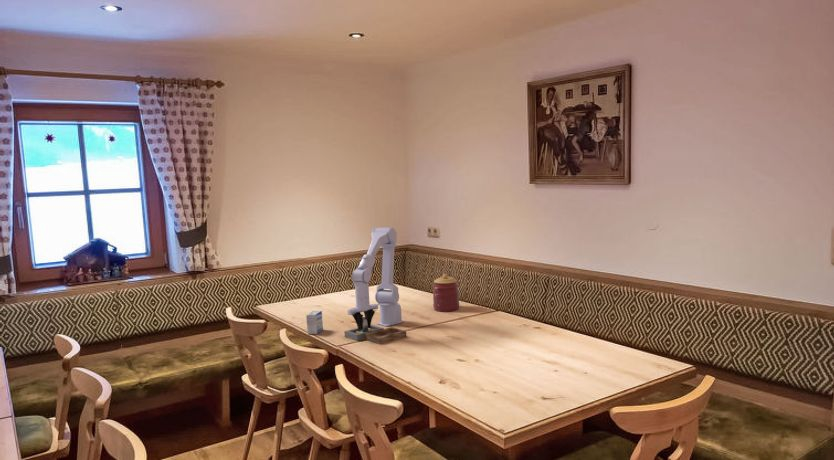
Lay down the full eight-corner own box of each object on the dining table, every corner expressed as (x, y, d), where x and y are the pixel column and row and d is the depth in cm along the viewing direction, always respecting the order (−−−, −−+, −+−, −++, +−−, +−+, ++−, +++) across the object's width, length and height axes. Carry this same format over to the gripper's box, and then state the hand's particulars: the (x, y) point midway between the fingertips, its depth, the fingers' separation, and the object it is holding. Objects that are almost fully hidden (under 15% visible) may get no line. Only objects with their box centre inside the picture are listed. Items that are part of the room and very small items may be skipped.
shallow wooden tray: (392, 332, 259) (391, 326, 259) (406, 336, 251) (406, 331, 251) (365, 339, 250) (364, 333, 250) (379, 344, 242) (378, 338, 242)
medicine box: (316, 334, 261) (315, 314, 261) (307, 334, 262) (306, 314, 261) (323, 329, 269) (322, 310, 268) (313, 329, 270) (312, 310, 269)
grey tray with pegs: (371, 329, 265) (371, 323, 264) (384, 333, 257) (383, 326, 257) (344, 336, 256) (344, 329, 255) (357, 340, 248) (356, 333, 248)
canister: (464, 307, 299) (462, 272, 297) (451, 313, 288) (450, 277, 286) (441, 305, 306) (440, 270, 304) (428, 310, 295) (426, 275, 293)
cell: (365, 330, 259) (364, 316, 258) (370, 332, 256) (369, 317, 256) (358, 332, 257) (357, 317, 256) (363, 333, 254) (362, 318, 253)
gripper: (370, 292, 262) (372, 323, 264) (342, 298, 253) (344, 330, 255) (380, 295, 257) (382, 326, 258) (352, 301, 248) (354, 333, 249)
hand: (364, 328), depth 256 cm, fingers closed on cell, 4 cm apart
